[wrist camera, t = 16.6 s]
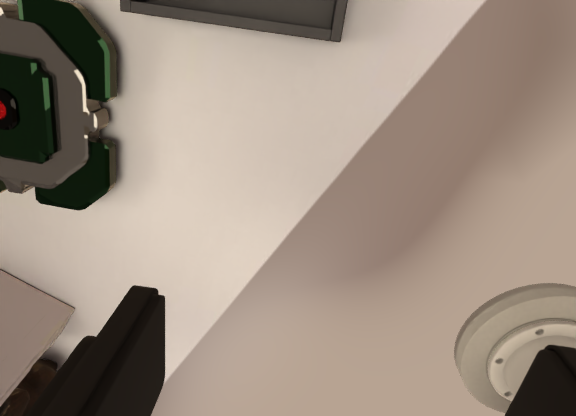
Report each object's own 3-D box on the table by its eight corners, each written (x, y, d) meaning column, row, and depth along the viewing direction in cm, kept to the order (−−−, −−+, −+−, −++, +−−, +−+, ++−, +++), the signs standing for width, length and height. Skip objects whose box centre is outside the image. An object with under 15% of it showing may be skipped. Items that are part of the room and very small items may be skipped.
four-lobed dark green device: (122, 11, 33) (95, 8, 29) (123, 205, 40) (101, 226, 36) (-95, -30, 33) (-155, -39, 28) (-54, 174, 40) (-96, 191, 36)
